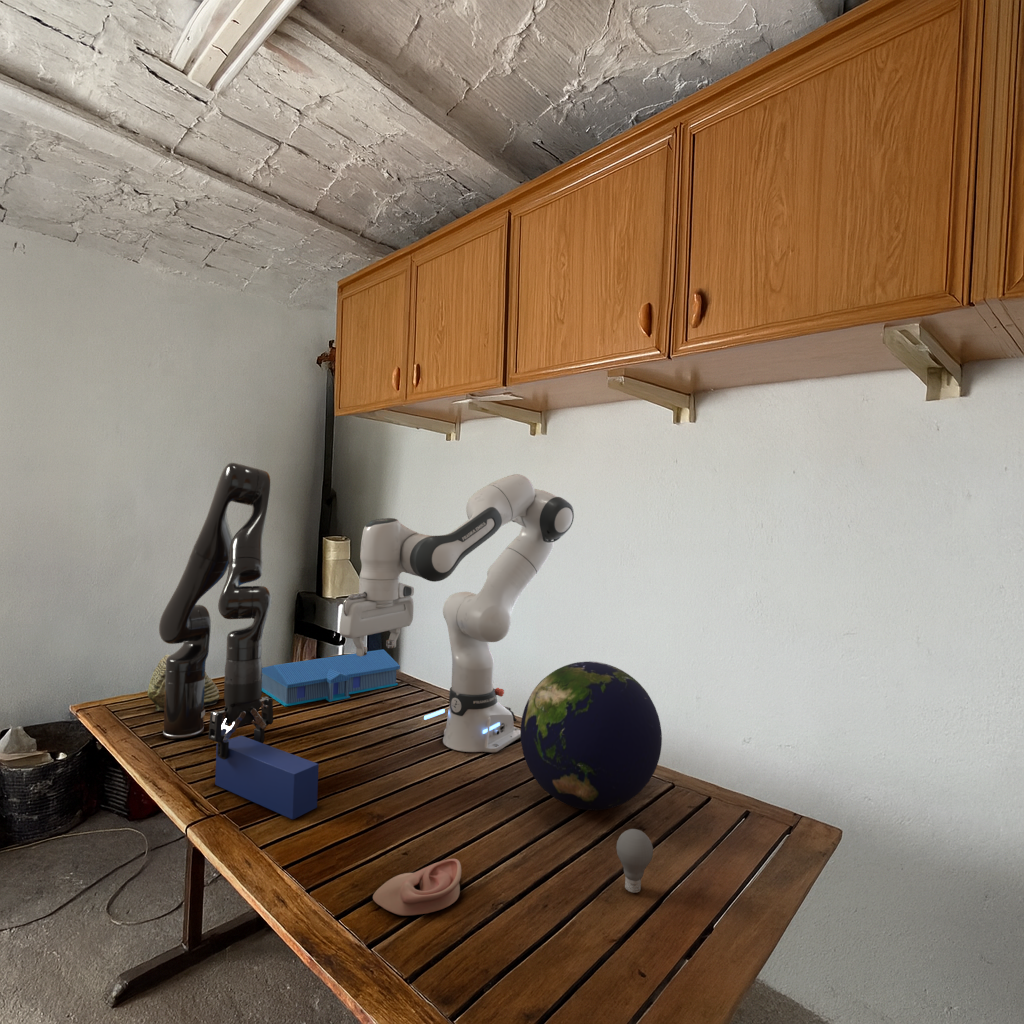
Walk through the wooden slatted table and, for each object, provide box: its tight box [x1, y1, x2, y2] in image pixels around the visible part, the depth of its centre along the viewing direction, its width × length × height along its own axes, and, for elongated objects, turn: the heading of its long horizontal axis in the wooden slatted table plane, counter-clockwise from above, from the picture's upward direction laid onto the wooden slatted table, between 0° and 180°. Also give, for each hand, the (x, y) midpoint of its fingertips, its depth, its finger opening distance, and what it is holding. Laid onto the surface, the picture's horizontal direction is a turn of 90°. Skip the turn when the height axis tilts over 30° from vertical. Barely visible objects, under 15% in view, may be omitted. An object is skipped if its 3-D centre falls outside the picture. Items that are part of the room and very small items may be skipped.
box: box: [214, 735, 320, 820], centre depth 133 cm, size 25×6×9 cm, turn 59°
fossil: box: [147, 654, 221, 712], centre depth 185 cm, size 9×18×15 cm, turn 132°
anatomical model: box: [372, 858, 462, 917], centre depth 102 cm, size 13×4×12 cm
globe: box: [520, 660, 663, 811], centre depth 136 cm, size 30×30×30 cm
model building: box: [262, 649, 401, 707], centre depth 208 cm, size 39×24×10 cm, turn 132°
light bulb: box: [615, 828, 654, 894], centre depth 106 cm, size 6×6×10 cm
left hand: (241, 752), depth 138 cm, fingers open, 8 cm apart
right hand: (376, 651), depth 143 cm, fingers open, 8 cm apart
